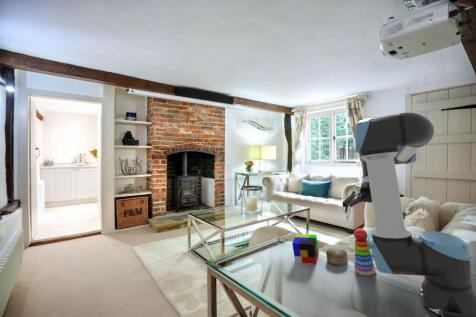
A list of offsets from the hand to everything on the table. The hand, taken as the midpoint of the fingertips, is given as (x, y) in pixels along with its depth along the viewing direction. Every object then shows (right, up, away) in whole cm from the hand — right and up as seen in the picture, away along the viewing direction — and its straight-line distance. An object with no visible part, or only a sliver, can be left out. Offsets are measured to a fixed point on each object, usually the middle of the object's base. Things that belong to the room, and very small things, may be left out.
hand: (363, 220), depth 104 cm
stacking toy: (-1, -21, -4) cm, 21 cm away
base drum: (-9, -21, +7) cm, 24 cm away
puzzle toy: (-21, -23, +14) cm, 34 cm away
